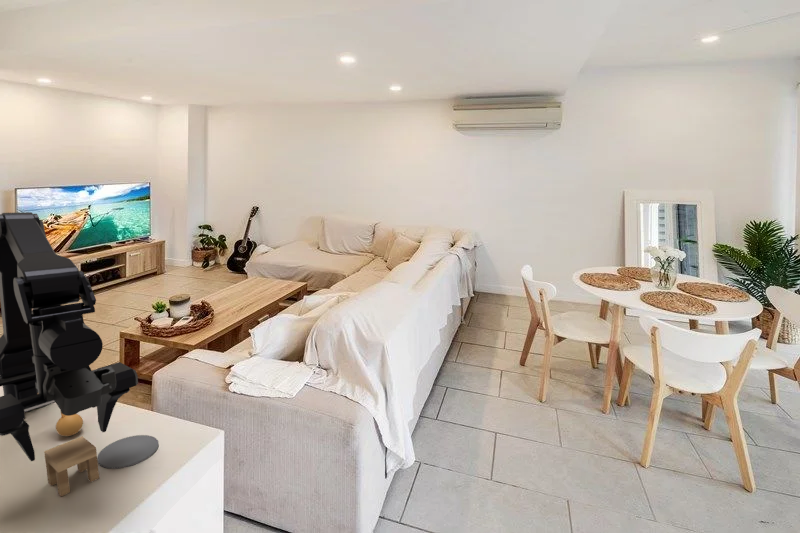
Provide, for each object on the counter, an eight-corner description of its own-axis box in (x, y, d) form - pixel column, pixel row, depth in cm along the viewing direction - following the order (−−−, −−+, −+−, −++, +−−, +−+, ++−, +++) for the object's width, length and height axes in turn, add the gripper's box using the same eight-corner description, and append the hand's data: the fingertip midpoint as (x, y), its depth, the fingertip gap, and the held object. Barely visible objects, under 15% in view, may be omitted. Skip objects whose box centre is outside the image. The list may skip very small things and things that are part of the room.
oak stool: (48, 483, 66) (44, 451, 65) (85, 466, 70) (82, 436, 69) (61, 496, 63) (57, 463, 62) (99, 478, 67) (95, 447, 66)
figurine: (43, 448, 74) (35, 384, 72) (38, 434, 78) (30, 373, 76) (100, 429, 80) (94, 370, 78) (92, 417, 84) (86, 361, 82)
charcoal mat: (88, 455, 73) (87, 453, 73) (142, 431, 80) (142, 429, 80) (112, 475, 68) (112, 473, 68) (168, 448, 76) (168, 446, 75)
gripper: (-9, 388, 51) (8, 502, 54) (151, 344, 66) (158, 434, 69) (-36, 364, 57) (-19, 468, 60) (117, 329, 72) (125, 413, 75)
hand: (69, 444), depth 66 cm, fingers open, 9 cm apart
